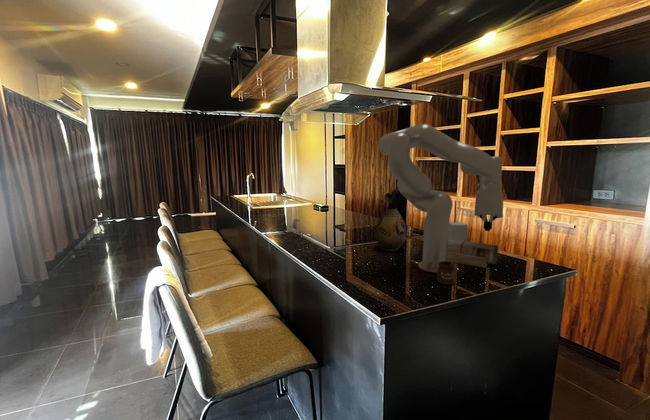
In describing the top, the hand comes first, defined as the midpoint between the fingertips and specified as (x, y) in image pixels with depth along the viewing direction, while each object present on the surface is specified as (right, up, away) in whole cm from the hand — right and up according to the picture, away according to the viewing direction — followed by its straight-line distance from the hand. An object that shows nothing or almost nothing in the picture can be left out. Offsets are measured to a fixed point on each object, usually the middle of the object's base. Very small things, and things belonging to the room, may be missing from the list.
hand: (487, 230), depth 132 cm
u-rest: (-8, -13, +8) cm, 17 cm away
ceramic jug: (-35, -11, +27) cm, 45 cm away
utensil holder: (-24, -18, -18) cm, 35 cm away
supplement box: (-2, -11, +26) cm, 28 cm away
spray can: (+3, -10, -2) cm, 11 cm away
